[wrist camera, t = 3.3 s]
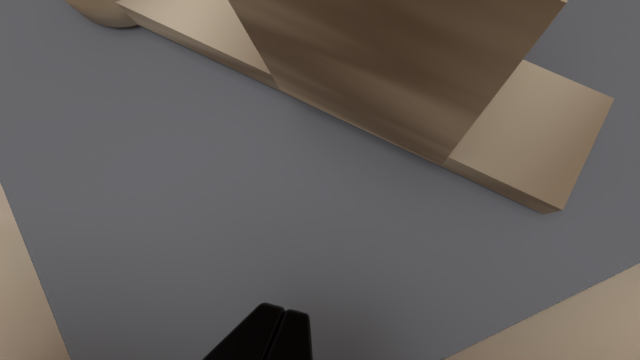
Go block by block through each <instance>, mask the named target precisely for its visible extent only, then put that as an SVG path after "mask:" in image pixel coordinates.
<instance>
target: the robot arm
mask: <svg viewBox="0 0 640 360" xmlns="http://www.w3.org/2000/svg"><path fill="white" fill-rule="evenodd" d="M202 360H313V353H312V339H311V325H310V316H309V315H308V314H307V313H305V312H301V311H297V310H293V309H287V310H286V311H285V309H284V308H283V307H282V306H278V305H274V304H270V303H266V302H264V303H261V304H259V305H258V306H257V307H256V308H255V309H254V310H253V311H252V312H251V313H250V314H249V315H248V316H247V317H246V318H245V319H244V320H242V321H241V322H240V323H239V324H238V325H237V326H236V327H235V328H234V329H233V330H232V331H231V332H230V333H229V334H228V335H227V336H226V337H225V338H224V339H223V340H222V341H221V342H220V343H219V344H218V345H217V346H215V347H214V348H213V349H212V350H211V351H210V352H209V353H208V354H207V355H206V356H205V357H204V358H203V359H202Z"/></svg>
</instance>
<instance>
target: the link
mask: <svg viewBox="0 0 640 360" xmlns="http://www.w3.org/2000/svg"><path fill="white" fill-rule="evenodd" d="M64 1H66V2H67V3H68V4H69V5H71V6H72V7H73V8H74V9H76V10H77V11H78V12H79V13H81V14H82V15H83V16H84V17H86V18H87V19H89V20H91V21H93V22H95V23H98V24H100V25H104V26H108V27H130V26H135V25H140V26H142V27H144V28H147V29H149V30H151V31H153V32H155V33H157V34H159V35H162V36H164V37H166V38H168V39H170V40H172V41H174V42H176V43H179V44H181V45H183V46H185V47H187V48H189V49H191V50H194V51H196V52H198V53H200V54H202V55H204V56H206V57H209V58H211V59H213V60H215V61H217V62H219V63H221V64H223V65H226V66H228V67H230V68H232V69H234V70H236V71H238V72H241V73H243V74H245V75H247V76H249V77H251V78H253V79H256V80H258V81H260V82H262V83H264V84H266V85H268V86H270V87H273V88H275V89H277V90H279V91H281V92H283V93H285V94H288V95H290V96H292V97H294V98H296V99H298V100H300V101H303V102H305V103H307V104H309V105H311V106H313V107H315V108H318V109H320V110H322V111H324V112H326V113H328V114H330V115H332V116H335V117H337V118H339V119H341V120H343V121H345V122H347V123H350V124H352V125H354V126H356V127H358V128H360V129H362V130H365V131H367V132H369V133H371V134H373V135H375V136H377V137H379V138H382V139H384V140H386V141H388V142H390V143H392V144H394V145H397V146H399V147H401V148H403V149H405V150H407V151H409V152H412V153H414V154H416V155H418V156H420V157H422V158H424V159H426V160H429V161H431V162H433V163H435V164H437V165H439V166H441V167H444V168H446V169H448V170H450V171H452V172H454V173H456V174H459V175H461V176H463V177H465V178H467V179H469V180H471V181H474V182H476V183H478V184H480V185H482V186H484V187H486V188H488V189H491V190H493V191H495V192H497V193H499V194H501V195H503V196H506V197H508V198H510V199H512V200H514V201H516V202H518V203H521V204H523V205H525V206H527V207H529V208H531V209H533V210H535V211H538V212H540V213H542V214H548V213H553V212H557V211H561V210H563V209H564V207H565V204H566V202H567V200H568V198H569V196H570V194H571V191H572V189H573V187H574V185H575V183H576V181H577V179H578V176H579V174H580V172H581V170H582V168H583V166H584V163H585V161H586V159H587V157H588V155H589V153H590V150H591V148H592V146H593V144H594V142H595V140H596V138H597V135H598V133H599V131H600V129H601V127H602V125H603V122H604V120H605V118H606V116H607V114H608V112H609V110H610V107H611V105H612V103H613V101H614V98H612V97H610V96H607V95H605V94H603V93H600V92H598V91H596V90H593V89H591V88H589V87H586V86H584V85H582V84H579V83H577V82H575V81H572V80H570V79H568V78H565V77H563V76H561V75H558V74H556V73H554V72H551V71H549V70H547V69H544V68H542V67H540V66H537V65H535V64H533V63H530V62H528V61H526V60H523V59H524V58H525V56H526V55H527V54H528V52H529V51H530V50H531V48H532V47H533V46H534V45H535V43H536V42H537V41H538V39H539V38H540V37H541V35H542V34H543V33H544V32H545V30H546V29H547V28H548V26H549V25H550V24H551V22H552V21H553V20H554V19H555V17H556V16H557V15H558V13H559V12H560V11H561V9H562V8H563V7H564V6H565V4H566V3H567V1H568V0H64Z"/></svg>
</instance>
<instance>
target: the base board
mask: <svg viewBox="0 0 640 360" xmlns="http://www.w3.org/2000/svg"><path fill="white" fill-rule="evenodd" d="M523 60H526V61H528V62H530V63H533V64H535V65H537V66H540V67H542V68H544V69H547V70H549V71H551V72H554V73H556V74H558V75H561V76H563V77H565V78H568V79H570V80H572V81H575V82H577V83H579V84H582V85H584V86H586V87H589V88H591V89H593V90H596V91H598V92H600V93H603V94H605V95H607V96H610V97H612V98H614V101H613V103H612V105H611V107H610V110H609V112H608V114H607V116H606V118H605V120H604V122H603V125H602V127H601V129H600V131H599V133H598V135H597V138H596V140H595V142H594V144H593V146H592V148H591V150H590V153H589V155H588V157H587V159H586V161H585V163H584V166H583V168H582V170H581V172H580V174H579V176H578V179H577V181H576V183H575V185H574V187H573V189H572V191H571V194H570V196H569V198H568V200H567V202H566V204H565V207H564V209H563V210H561V211H557V212H553V213H548V214H542V213H540V212H538V211H535V210H533V209H531V208H529V207H527V206H525V205H523V204H521V203H518V202H516V201H514V200H512V199H510V198H508V197H506V196H503V195H501V194H499V193H497V192H495V191H493V190H491V189H488V188H486V187H484V186H482V185H480V184H478V183H476V182H474V181H471V180H469V179H467V178H465V177H463V176H461V175H459V174H456V173H454V172H452V171H450V170H448V169H446V168H444V167H441V166H439V165H437V164H435V163H433V162H431V161H429V160H426V159H424V158H422V157H420V156H418V155H416V154H414V153H412V152H409V151H407V150H405V149H403V148H401V147H399V146H397V145H394V144H392V143H390V142H388V141H386V140H384V139H382V138H379V137H377V136H375V135H373V134H371V133H369V132H367V131H365V130H362V129H360V128H358V127H356V126H354V125H352V124H350V123H347V122H345V121H343V120H341V119H339V118H337V117H335V116H332V115H330V114H328V113H326V112H324V111H322V110H320V109H318V108H315V107H313V106H311V105H309V104H307V103H305V102H303V101H300V100H298V99H296V98H294V97H292V96H290V95H288V94H285V93H283V92H281V91H279V90H277V89H275V88H273V87H270V86H268V85H266V84H264V83H262V82H260V81H258V80H256V79H253V78H251V77H249V76H247V75H245V74H243V73H241V72H238V71H236V70H234V69H232V68H230V67H228V66H226V65H223V64H221V63H219V62H217V61H215V60H213V59H211V58H209V57H206V56H204V55H202V54H200V53H198V52H196V51H194V50H191V49H189V48H187V47H185V46H183V45H181V44H179V43H176V42H174V41H172V40H170V39H168V38H166V37H164V36H162V35H159V34H157V33H155V32H153V31H151V30H149V29H147V28H144V27H142V26H140V25H135V26H130V27H108V26H104V25H100V24H98V23H95V22H93V21H91V20H89V19H87V18H86V17H84V16H83V15H82V14H81V13H79V12H78V11H77V10H76V9H74V8H73V7H72V6H71V5H69V4H68V3H67V2H66V1H64V0H0V182H1V185H2V187H3V190H4V192H5V195H6V197H7V200H8V202H9V205H10V207H11V210H12V212H13V215H14V217H15V220H16V222H17V225H18V227H19V230H20V232H21V235H22V237H23V240H24V243H25V245H26V248H27V250H28V253H29V255H30V258H31V260H32V263H33V265H34V268H35V270H36V273H37V275H38V278H39V280H40V283H41V285H42V288H43V290H44V293H45V295H46V298H47V300H48V303H49V305H50V308H51V310H52V313H53V315H54V318H55V321H56V323H57V326H58V328H59V331H60V333H61V336H62V338H63V341H64V343H65V346H66V348H67V351H68V353H69V356H70V358H71V360H202V359H203V358H204V357H205V356H206V355H207V354H208V353H209V352H210V351H211V350H212V349H213V348H214V347H215V346H217V345H218V344H219V343H220V342H221V341H222V340H223V339H224V338H225V337H226V336H227V335H228V334H229V333H230V332H231V331H232V330H233V329H234V328H235V327H236V326H237V325H238V324H239V323H240V322H241V321H242V320H244V319H245V318H246V317H247V316H248V315H249V314H250V313H251V312H252V311H253V310H254V309H255V308H256V307H257V306H258V305H259V304H261V303H264V302H266V303H270V304H274V305H278V306H282V307H283V308H284V309H285V311H286V310H287V309H293V310H297V311H301V312H305V313H307V314H308V315H309V316H310V325H311V339H312V353H313V360H443V359H445V358H447V357H449V356H451V355H453V354H455V353H457V352H459V351H461V350H463V349H465V348H467V347H469V346H471V345H473V344H475V343H477V342H479V341H481V340H484V339H486V338H488V337H490V336H492V335H494V334H496V333H498V332H500V331H502V330H504V329H506V328H508V327H510V326H512V325H514V324H516V323H518V322H520V321H522V320H524V319H526V318H528V317H530V316H532V315H534V314H536V313H538V312H540V311H543V310H545V309H547V308H549V307H551V306H553V305H555V304H557V303H559V302H561V301H563V300H565V299H567V298H569V297H571V296H573V295H575V294H577V293H579V292H581V291H583V290H585V289H587V288H589V287H591V286H593V285H595V284H597V283H599V282H602V281H604V280H606V279H608V278H610V277H612V276H614V275H616V274H618V273H620V272H622V271H624V270H626V269H628V268H630V267H632V266H634V265H636V264H638V263H640V0H568V1H567V3H566V4H565V6H564V7H563V8H562V9H561V11H560V12H559V13H558V15H557V16H556V17H555V19H554V20H553V21H552V22H551V24H550V25H549V26H548V28H547V29H546V30H545V32H544V33H543V34H542V35H541V37H540V38H539V39H538V41H537V42H536V43H535V45H534V46H533V47H532V48H531V50H530V51H529V52H528V54H527V55H526V56H525V58H524V59H523Z"/></svg>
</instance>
